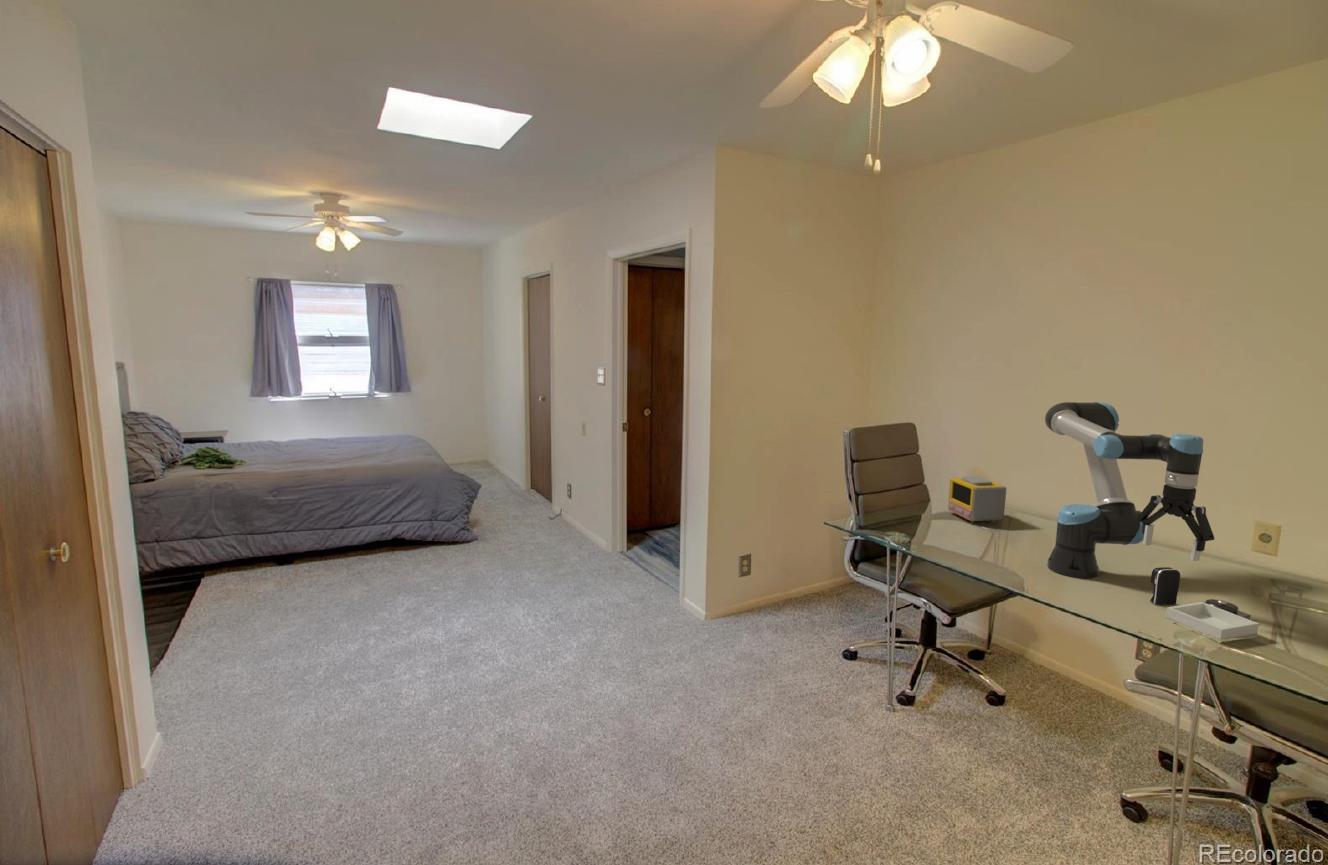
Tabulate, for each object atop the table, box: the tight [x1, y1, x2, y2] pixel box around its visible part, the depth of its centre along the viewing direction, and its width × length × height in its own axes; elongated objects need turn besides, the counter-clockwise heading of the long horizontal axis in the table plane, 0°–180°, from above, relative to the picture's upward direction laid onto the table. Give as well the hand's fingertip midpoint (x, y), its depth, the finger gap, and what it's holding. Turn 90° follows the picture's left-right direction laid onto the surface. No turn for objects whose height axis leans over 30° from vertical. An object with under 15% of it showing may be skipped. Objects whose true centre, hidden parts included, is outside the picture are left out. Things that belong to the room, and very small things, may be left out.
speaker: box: [1203, 598, 1252, 620], centre depth 177 cm, size 10×8×4 cm
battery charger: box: [1149, 566, 1181, 606], centre depth 185 cm, size 7×4×11 cm, turn 94°
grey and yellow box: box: [947, 475, 1007, 524], centre depth 272 cm, size 20×16×18 cm
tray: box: [1164, 601, 1260, 640], centre depth 170 cm, size 14×14×4 cm
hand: (1170, 552), depth 184 cm, fingers open, 13 cm apart
